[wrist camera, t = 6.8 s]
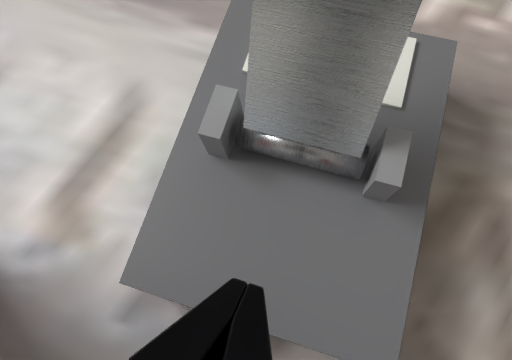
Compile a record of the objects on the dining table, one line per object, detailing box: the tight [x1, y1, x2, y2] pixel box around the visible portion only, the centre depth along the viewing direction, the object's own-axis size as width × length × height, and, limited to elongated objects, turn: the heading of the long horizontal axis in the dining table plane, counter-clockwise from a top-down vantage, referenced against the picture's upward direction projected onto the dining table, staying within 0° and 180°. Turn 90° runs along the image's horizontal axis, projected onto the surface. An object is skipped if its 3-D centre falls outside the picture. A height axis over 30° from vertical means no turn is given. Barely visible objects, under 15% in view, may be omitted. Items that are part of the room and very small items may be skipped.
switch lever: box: [236, 0, 422, 180], centre depth 13 cm, size 3×6×11 cm, turn 74°
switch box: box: [119, 0, 457, 360], centre depth 18 cm, size 16×12×6 cm
